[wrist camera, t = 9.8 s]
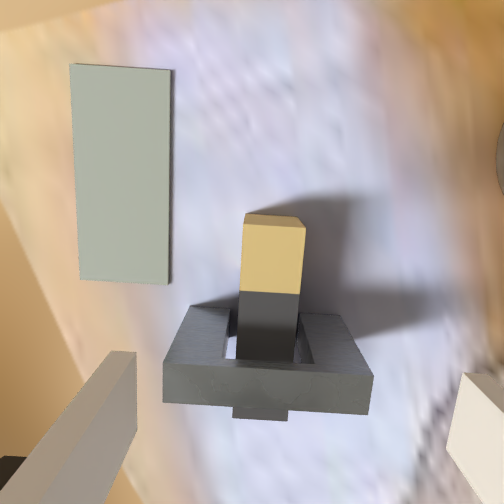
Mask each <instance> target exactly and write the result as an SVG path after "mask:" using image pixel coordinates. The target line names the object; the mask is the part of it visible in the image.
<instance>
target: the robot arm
mask: <svg viewBox="0 0 504 504" xmlns="http://www.w3.org/2000/svg"><path fill="white" fill-rule="evenodd" d="M136 432H137V366H136V352H125V351H111V352H110V353H109V354H108V355H107V357H106V358H105V359H104V360H103V362H102V363H101V364H100V366H99V367H98V368H97V369H96V371H95V372H94V373H93V374H92V376H91V377H90V378H89V379H88V381H87V382H86V383H85V385H84V386H83V387H82V388H81V390H80V391H79V392H78V393H77V395H76V396H75V397H74V398H73V400H72V401H71V402H70V404H69V405H68V406H67V407H66V409H65V410H64V411H63V412H62V414H61V415H60V416H59V417H58V419H57V420H56V421H55V423H54V424H53V425H52V427H51V428H50V429H49V430H48V432H47V433H46V434H45V435H44V437H43V438H42V439H41V440H40V442H39V443H38V444H37V445H36V447H35V448H34V449H33V451H32V452H31V453H30V454H29V456H28V457H17V456H3V457H2V458H0V504H104V502H105V500H106V498H107V496H108V493H109V491H110V489H111V487H112V485H113V482H114V480H115V478H116V475H117V473H118V471H119V469H120V467H121V465H122V462H123V460H124V458H125V456H126V454H127V451H128V449H129V447H130V445H131V443H132V440H133V438H134V436H135V434H136ZM446 450H447V451H448V453H449V454H450V456H451V457H452V458H453V460H454V461H455V463H456V464H457V466H458V467H459V469H460V470H461V472H462V473H463V475H464V476H465V478H466V479H467V481H468V482H469V484H470V485H471V487H472V488H473V490H474V491H475V493H476V494H477V496H478V497H479V498H480V500H481V501H482V503H483V504H504V388H503V387H502V386H500V385H499V384H498V383H497V382H496V381H495V380H494V379H493V378H491V377H490V376H489V375H488V374H478V373H463V374H462V378H461V383H460V387H459V392H458V396H457V401H456V405H455V410H454V415H453V419H452V424H451V428H450V433H449V437H448V442H447V446H446Z"/></svg>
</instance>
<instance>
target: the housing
mask: <svg viewBox="0 0 504 504" xmlns="http://www.w3.org/2000/svg"><path fill="white" fill-rule="evenodd" d="M229 320H230V308H214V307H198V306H190V307H189V309H188V311H187V313H186V315H185V317H184V319H183V322H182V324H181V326H180V328H179V330H178V332H177V334H176V336H175V338H174V340H173V343H172V345H171V347H170V349H169V351H168V353H167V355H166V357H165V359H164V361H163V403H179V404H196V405H212V406H228V407H244V408H260V409H276V410H293V411H309V412H325V413H341V414H357V415H368V411H369V404H370V398H371V391H372V385H373V379H374V375H373V373H372V372H371V370H370V368H369V366H368V364H367V363H366V361H365V359H364V357H363V356H362V354H361V352H360V350H359V349H358V347H357V345H356V343H355V341H354V340H353V338H352V336H351V334H350V333H349V331H348V329H347V327H346V326H345V324H344V322H343V320H342V318H341V317H340V315H325V314H309V313H300V315H299V325H298V335H297V346H298V350H299V354H300V358H301V363H286V362H270V361H254V360H238V359H225V357H226V351H227V345H228V338H229Z"/></svg>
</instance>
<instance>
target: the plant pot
mask: <svg viewBox="0 0 504 504" xmlns="http://www.w3.org/2000/svg"><path fill="white" fill-rule="evenodd" d="M496 170H497V176H498V181H499V185H500V187H501V190H502V192H503V195H504V124H503V126H502V129H501V132H500V135H499V139H498V144H497V152H496Z"/></svg>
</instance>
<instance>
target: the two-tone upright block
mask: <svg viewBox="0 0 504 504" xmlns="http://www.w3.org/2000/svg"><path fill="white" fill-rule="evenodd" d="M305 234H306V227H305V226H304V225H303V224H302V222H301V221H300V220H299V219H298V218H297V217H292V216H276V215H260V214H245V218H244V223H243V237H242V255H241V273H240V290H239V308H238V326H237V344H236V359H238V360H254V361H270V362H286V363H293V358H294V348H295V337H296V327H297V317H298V306H299V296H300V286H301V276H302V265H303V255H304V245H305ZM232 418H239V419H255V420H272V421H287V420H288V410H276V409H260V408H244V407H233V414H232Z"/></svg>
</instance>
